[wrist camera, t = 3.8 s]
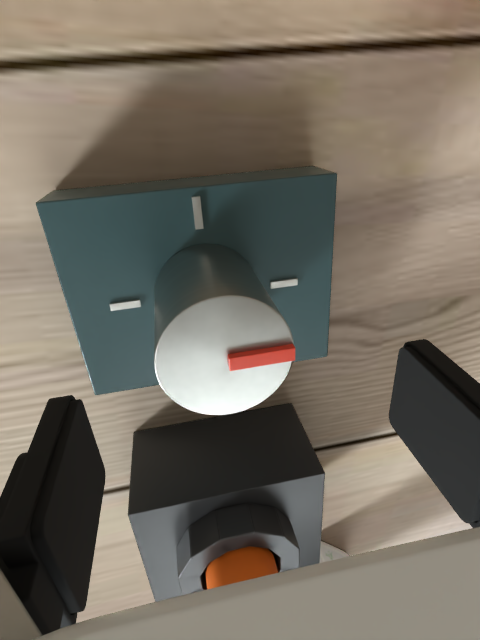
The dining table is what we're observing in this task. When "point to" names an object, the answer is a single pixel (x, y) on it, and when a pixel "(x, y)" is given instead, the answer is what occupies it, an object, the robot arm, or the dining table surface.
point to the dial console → (178, 234)
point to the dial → (217, 333)
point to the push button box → (224, 495)
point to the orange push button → (240, 566)
